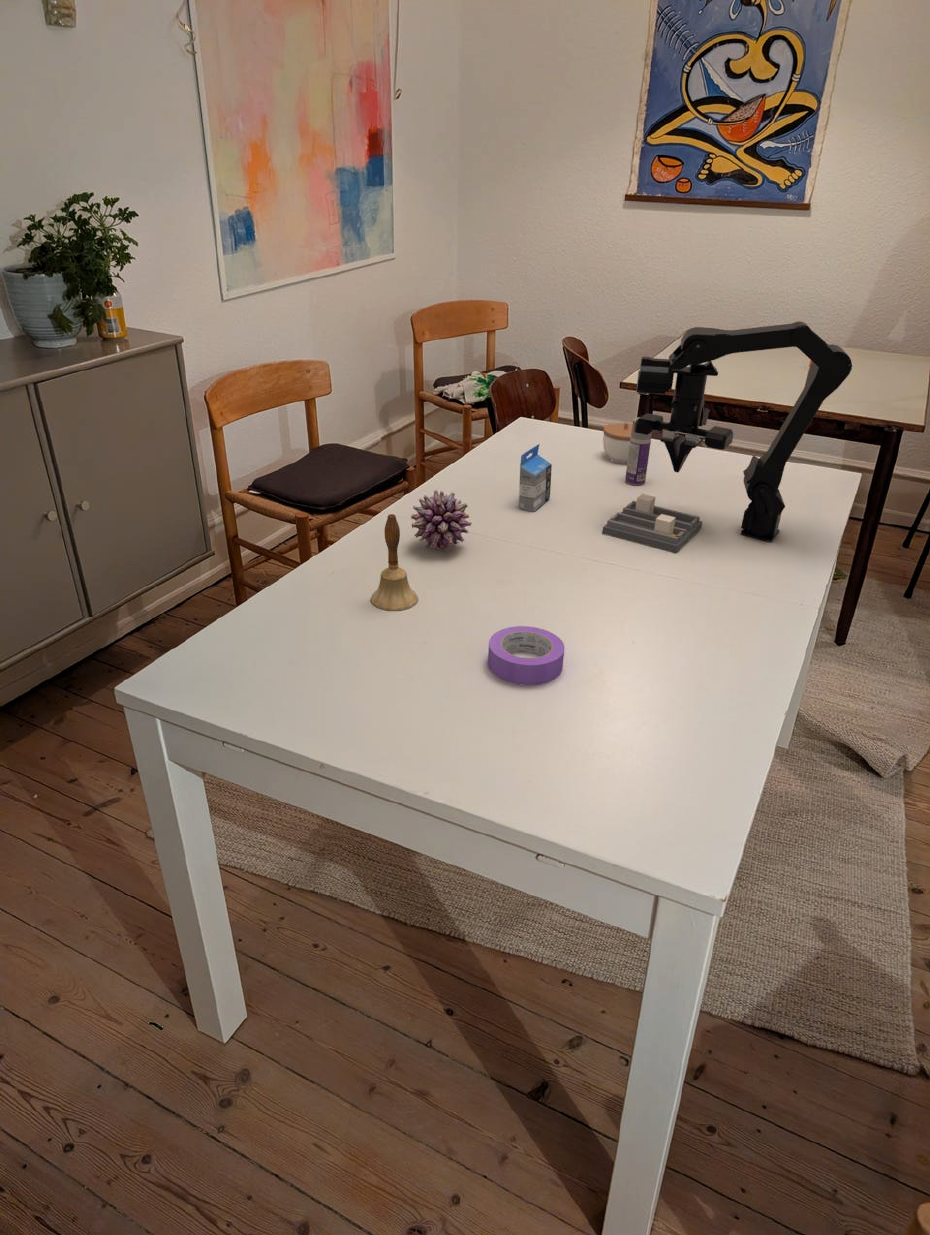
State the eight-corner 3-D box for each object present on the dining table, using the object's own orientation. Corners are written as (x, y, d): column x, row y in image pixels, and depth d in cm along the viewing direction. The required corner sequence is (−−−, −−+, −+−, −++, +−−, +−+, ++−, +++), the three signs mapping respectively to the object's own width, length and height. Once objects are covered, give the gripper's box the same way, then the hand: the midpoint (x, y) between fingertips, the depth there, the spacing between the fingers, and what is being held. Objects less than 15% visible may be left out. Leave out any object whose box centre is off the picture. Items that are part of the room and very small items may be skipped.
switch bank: (701, 528, 184) (703, 516, 182) (676, 553, 173) (678, 540, 171) (630, 510, 191) (632, 498, 190) (602, 533, 180) (603, 521, 179)
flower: (464, 564, 166) (466, 506, 160) (403, 557, 168) (402, 499, 162) (476, 539, 176) (478, 484, 170) (418, 533, 177) (418, 477, 172)
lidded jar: (592, 455, 222) (596, 419, 217) (627, 450, 226) (632, 414, 221) (615, 469, 213) (620, 432, 209) (651, 463, 218) (657, 427, 213)
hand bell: (375, 613, 149) (373, 527, 141) (366, 591, 155) (364, 507, 148) (422, 608, 151) (423, 523, 143) (412, 586, 158) (412, 504, 150)
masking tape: (517, 637, 143) (518, 617, 142) (577, 663, 137) (579, 642, 135) (472, 666, 135) (473, 645, 134) (533, 695, 129) (535, 673, 127)
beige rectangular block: (653, 512, 186) (655, 496, 184) (648, 516, 184) (650, 501, 182) (640, 509, 187) (642, 493, 186) (634, 513, 185) (636, 498, 184)
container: (644, 479, 208) (652, 417, 200) (645, 486, 204) (654, 423, 196) (624, 478, 208) (632, 416, 201) (625, 485, 204) (633, 422, 197)
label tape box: (533, 512, 188) (537, 458, 182) (516, 508, 190) (520, 454, 184) (550, 499, 195) (554, 446, 189) (533, 496, 197) (537, 443, 191)
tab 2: (673, 533, 177) (675, 517, 175) (667, 538, 175) (670, 522, 173) (659, 529, 178) (661, 513, 176) (653, 534, 176) (655, 518, 174)
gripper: (747, 395, 173) (733, 470, 180) (658, 379, 181) (648, 452, 189) (730, 408, 164) (716, 486, 172) (638, 391, 173) (628, 466, 181)
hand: (676, 471), depth 179 cm, fingers closed
